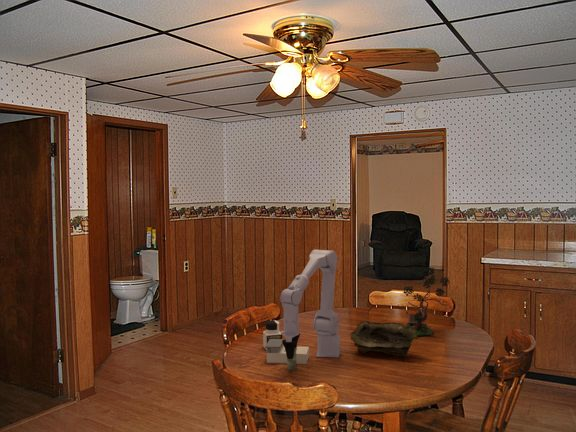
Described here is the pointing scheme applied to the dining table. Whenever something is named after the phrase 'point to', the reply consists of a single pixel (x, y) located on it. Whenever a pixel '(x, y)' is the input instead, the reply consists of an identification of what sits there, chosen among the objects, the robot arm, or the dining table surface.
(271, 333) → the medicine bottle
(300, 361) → the socket board
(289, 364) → the dowel
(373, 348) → the dark green planter
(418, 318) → the bonsai tree
